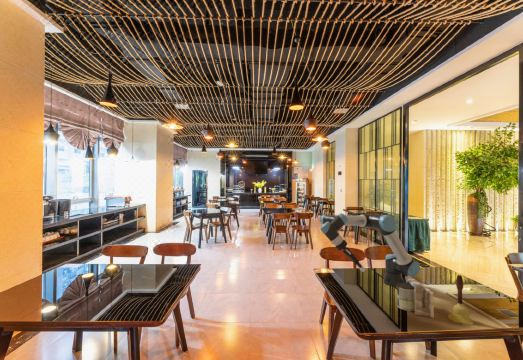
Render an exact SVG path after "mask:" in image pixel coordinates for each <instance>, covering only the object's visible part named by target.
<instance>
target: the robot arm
mask: <svg viewBox="0 0 523 360" xmlns="http://www.w3.org/2000/svg"><path fill="white" fill-rule="evenodd" d="M319 220H320V223H321V226H320V228H319V229H320V230H321V232H322V233H323V235H325V237H326V238H327V239H328V240H329V241H330V242H331V245H334V246H335V248H336V249H337V250H338V251H342V252H343V253H344V254H345V255H346V256H347V257H348V258H349V259H350V260H351V261H352V262H353V263H354V265H355V266H356V267H358V269H359V270H360V271H361V273H364V272H365V271H366V268H365V267H364V265H362V263H360V261H359V259H358V258H357V257H356V256H355V255H354V253H353V252H352V251H351V249H350V248H349V247H347V245H348V242H347V241H346V240H345V239H344V237H343V236H342V235H341V234H340V233H339V230H341V229H342V228H343V227H344V226H350V227H351V226H355V227H356V226H357V227H361V228H368V229H372V230H376V231H378V233H379V235H381V236H383V237H384V239H385V241H386V242H387V244H388V247H390V249H391V251H392V253H389V254H386V255H385V261H384V262H385V263H384V265H385V273H384V276H383V279H382V280H383V281H382V282H383V284H385V285H388V286H392V287H397V283H400V282H404V283H405V281H404V277H403V275H405V276H406V275H407V277H412V278H413V277H416V276H417V275H418V274H419V273H420V271H421V265H420V263H419V262H418V261H416V260H414V258H413V256H412V255H410V254H408V252H407V250H406V248H405V247H404V245H403V243H402V241H401V239H400V238H399V235H398V234H397V232H396V230H397V221H396V219H395V218H394V216H392V215H388V214H379V213H367V214H365V213H364V214H360V215H347V214H345V213H342V212H341V213H340V212H339V214H337V215H336V214H322V215H321V216H320V219H319Z"/></svg>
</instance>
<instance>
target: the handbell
mask: <svg viewBox="0 0 523 360" xmlns="http://www.w3.org/2000/svg"><path fill="white" fill-rule="evenodd" d="M463 279H464V278H463V276H462V275H460V274H457V275H456V279H455V281H456V282H455V286H456V287H455V288H456V291H457V304H454V305H453V307H452V312H451V313H450V314H448V315H447V319H449V320H450V321H452V322H454V323H457V324H460V323H463V324H462V325H466V324H470V323H473V322H474V320H473V319H472V318H471V317H470V316H469V315H468V308H467V307H466V306H464V304H463V289H464V280H463Z"/></svg>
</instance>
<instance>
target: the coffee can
mask: <svg viewBox="0 0 523 360" xmlns="http://www.w3.org/2000/svg"><path fill="white" fill-rule="evenodd" d="M396 291H397V294H396V296H397V297H396V299H397V301H396V302H397V303H396V304H397V307H398V308H399V309H401V310H403V311H406V312H407V311H408V312H411V311H412V312H413V311H414V312H415V294H414V287H413V286H412V285H411V284H410V283H406V282H405V281H404V282H400V283H397V286H396Z"/></svg>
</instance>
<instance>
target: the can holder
mask: <svg viewBox="0 0 523 360" xmlns="http://www.w3.org/2000/svg"><path fill="white" fill-rule="evenodd" d="M404 278H405V279H404V280H405V283H410V284H411V285H412V286H413V287H414V294H415V310H414V314H415V316H427V317H428V316H429V317H430V318H433V319H435V315H434V314H435V313H434V311H435V310H434V309H435V308H434V305H435V304H434V303H435V302H434V300H435V299H434V292H433V291H432V290H430V289H429V288H428V287H427V286H425V285H424V284H423V283H422V282H421V281H420V282H418V281H417V280H416V279H415V278H413V276H408V275H407V276H406V275H405V277H404Z"/></svg>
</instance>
